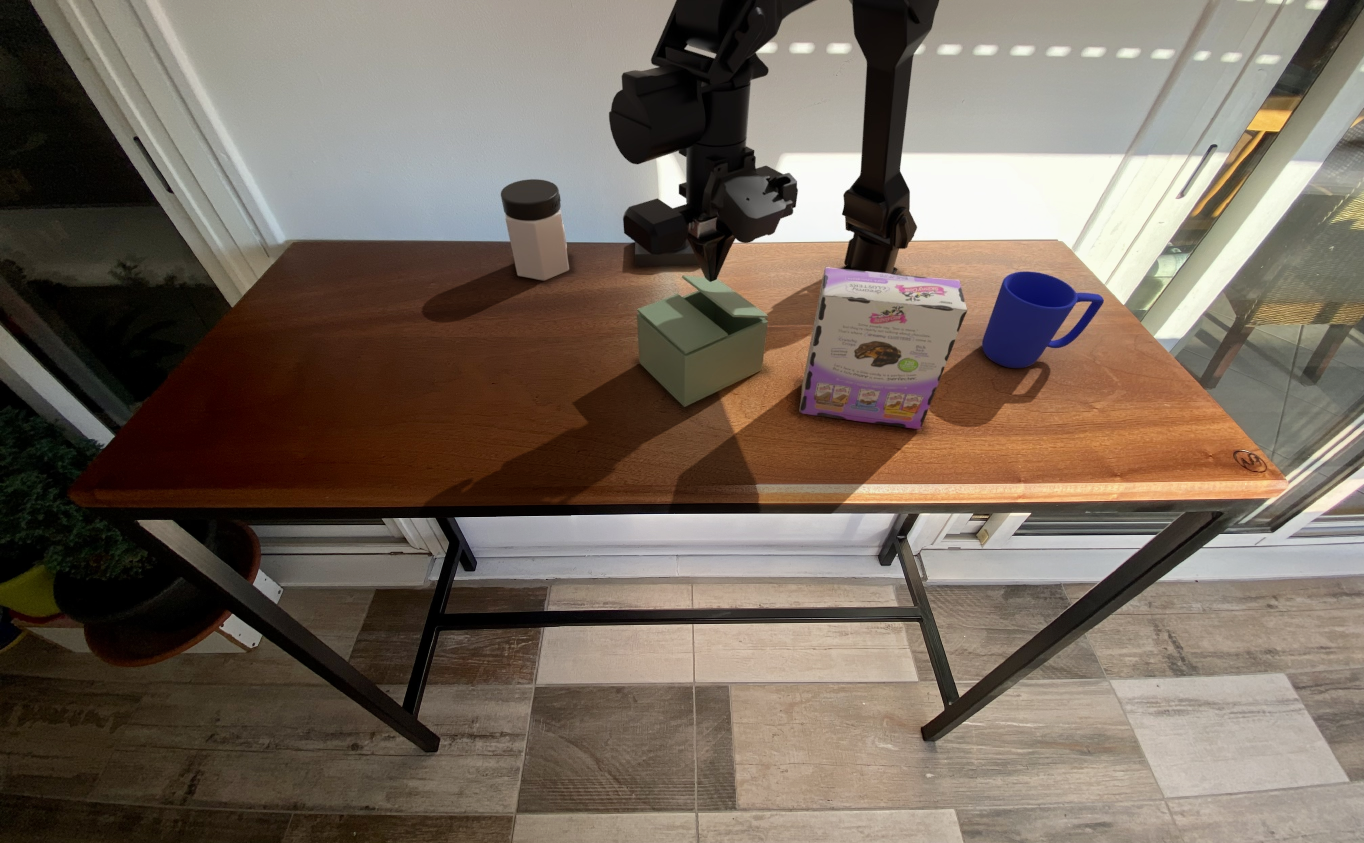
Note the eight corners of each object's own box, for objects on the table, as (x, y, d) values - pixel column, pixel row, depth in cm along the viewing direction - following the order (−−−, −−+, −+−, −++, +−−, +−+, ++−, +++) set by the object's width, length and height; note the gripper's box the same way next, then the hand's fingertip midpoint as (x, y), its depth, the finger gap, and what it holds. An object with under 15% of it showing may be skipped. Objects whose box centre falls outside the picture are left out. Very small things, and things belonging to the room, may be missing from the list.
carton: (714, 331, 81) (717, 278, 75) (762, 370, 75) (769, 316, 69) (639, 363, 76) (636, 309, 70) (684, 407, 70) (685, 352, 64)
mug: (1082, 377, 75) (1125, 309, 68) (986, 375, 75) (1018, 308, 68) (1055, 337, 80) (1091, 271, 73) (965, 335, 81) (993, 270, 73)
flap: (716, 280, 75) (717, 278, 75) (767, 318, 70) (768, 315, 69) (681, 277, 71) (682, 275, 71) (732, 317, 66) (733, 314, 66)
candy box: (916, 398, 72) (963, 277, 60) (920, 432, 68) (970, 310, 56) (801, 382, 74) (824, 262, 62) (798, 414, 69) (822, 293, 58)
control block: (702, 241, 99) (703, 218, 96) (705, 266, 93) (706, 242, 90) (636, 241, 98) (635, 219, 96) (635, 267, 93) (634, 243, 90)
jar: (572, 278, 90) (561, 201, 82) (517, 284, 89) (500, 207, 80) (567, 249, 96) (556, 175, 88) (515, 254, 95) (500, 180, 87)
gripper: (685, 190, 48) (684, 344, 59) (848, 140, 55) (820, 285, 67) (614, 146, 54) (625, 293, 65) (769, 107, 62) (756, 245, 73)
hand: (710, 279), depth 67 cm, fingers closed
